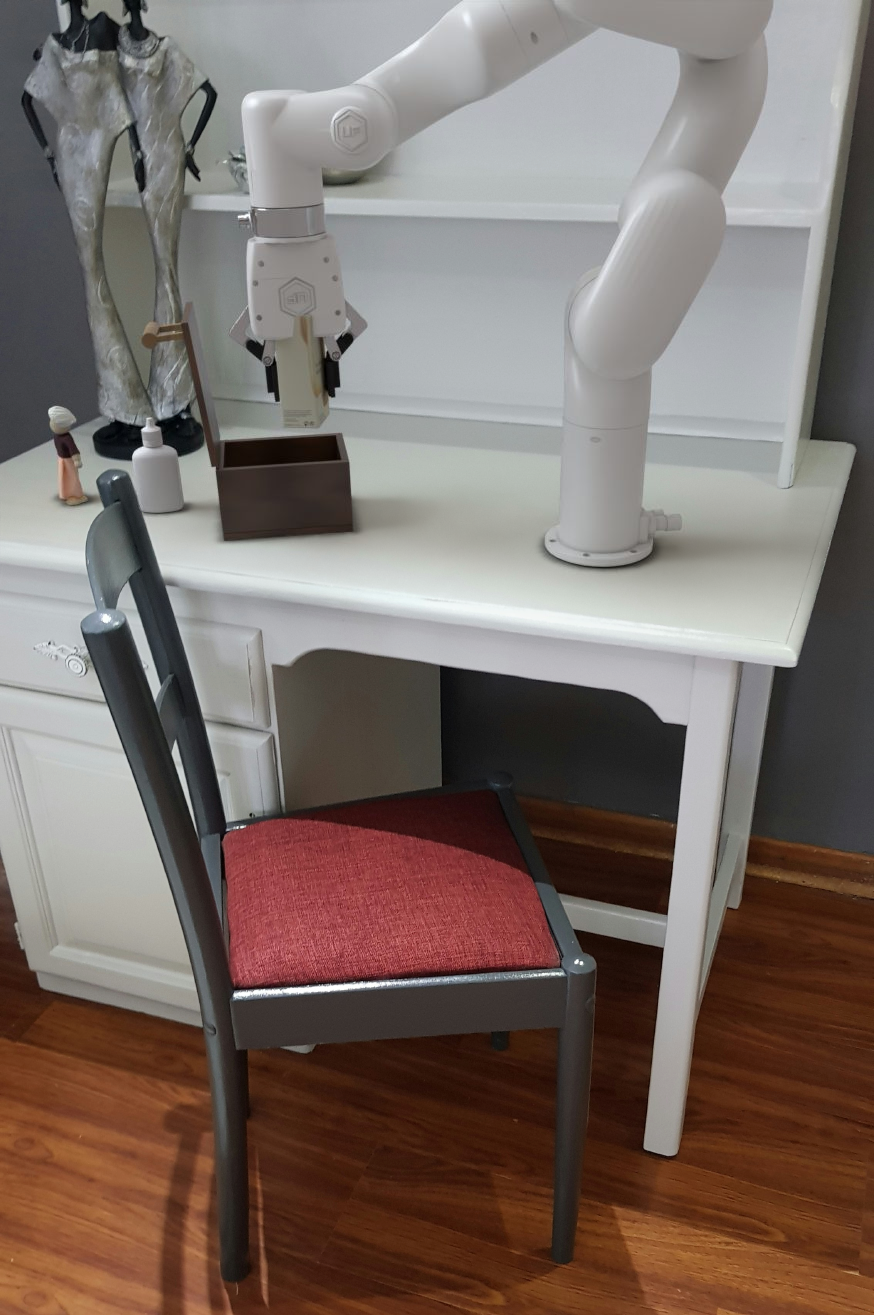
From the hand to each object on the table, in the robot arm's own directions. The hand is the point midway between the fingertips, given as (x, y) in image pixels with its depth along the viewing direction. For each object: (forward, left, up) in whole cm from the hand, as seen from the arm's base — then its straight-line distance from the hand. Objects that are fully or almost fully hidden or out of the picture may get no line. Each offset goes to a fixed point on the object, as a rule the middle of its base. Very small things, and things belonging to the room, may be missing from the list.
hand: (304, 395), depth 124 cm
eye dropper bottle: (+19, -17, -19) cm, 32 cm away
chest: (+3, -10, -18) cm, 21 cm away
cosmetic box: (0, 0, -3) cm, 3 cm away
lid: (+11, -10, -1) cm, 15 cm away
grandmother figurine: (+31, -22, -19) cm, 42 cm away
